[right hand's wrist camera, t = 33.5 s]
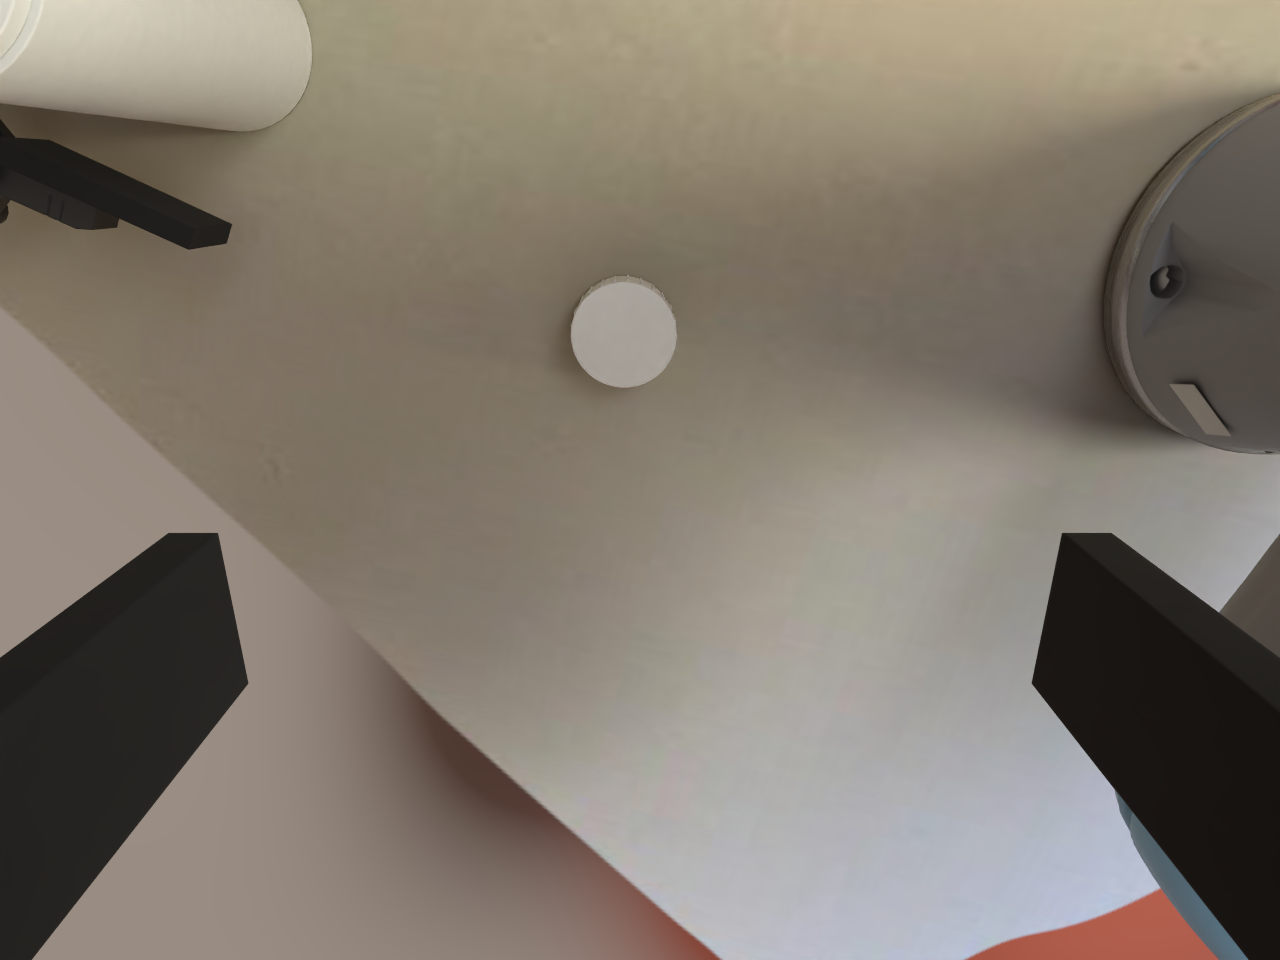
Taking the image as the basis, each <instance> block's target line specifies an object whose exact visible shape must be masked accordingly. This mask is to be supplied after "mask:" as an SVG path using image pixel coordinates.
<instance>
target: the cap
mask: <svg viewBox="0 0 1280 960" xmlns="http://www.w3.org/2000/svg"><path fill="white" fill-rule="evenodd" d="M671 310H672V308H671V305H670V302H669V303H668V302H667V300H666V298H665V297H664V294H663V292H660V291H659V290H658V289H657V288H656V287H654V285H653V283H652V284H650V283H648V282H647V281H645V280H642V278H641V277H640V279H639V278H636V277H632V276H629V275H627V276H616V275H614V277H611V278H608V279H605V280H603V279H602V280H601V282H599V283H597V284H596V285H594V286H591V287H590V290H589V291H588V292H587V293H586V294H585V295H584V296H582V297H581V300H580V303H579V305H578V307H576V309H575V311H574V318H573V320H572V323H571V326H570V328H571V339H570V340H571V343H572V348H573V351H574V354H575V356H576V358H577V360H578V362H579V364H580V365H581V366H582V368H583V369H584V370H585V371H586V372H587V373H588V374H589V375H590V376H591V377H593V378H594V379H596V380H597V381H599V382H601V383H603V384H606V385H609V386H613V387H620V388H628V387H635V386H639V385H642V384H645V383H647V382H649V381H651V380H652V379H654V378H655V377H656V376H658V375H659V374H660V373H661V372H662V371H663V370H664V369H665V368H666V366H667V365H668V363H669V362H670V360H671V358H672V356H673V353H674V350H675V348H676V347H675V346H676V339H677V336H678V334H677V330H676V324H675V323H677V322H676V319H675V316H674V315H673V314H672V311H671Z"/></svg>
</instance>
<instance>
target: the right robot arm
mask: <svg viewBox="0 0 1280 960" xmlns="http://www.w3.org/2000/svg"><path fill="white" fill-rule="evenodd" d="M1104 330H1105V338H1106V344H1107V348H1108V352H1109V356H1110V359H1111V362H1112V364H1113V367H1114V370H1115V372H1116V374H1117V376H1118V378H1119V380H1120V382H1121V384H1122V385H1123V387H1124V388H1125V390H1126V391H1127V393H1128V394H1129V396H1130V397H1131V398H1132V399H1133V400H1134V401H1135V403H1136V404H1137V405H1138V406H1139V407H1140V408H1141V409H1142V410H1144V411H1145V412H1146V413H1147V414H1148V415H1149V416H1151V417H1152V418H1153V419H1155V420H1156V421H1158V422H1159V423H1161V424H1162V425H1164V426H1166V427H1168V428H1170V429H1172V430H1174V431H1176V432H1178V433H1180V434H1182V435H1185V436H1187V437H1189V438H1191V439H1193V440H1195V441H1198V442H1200V443H1203V444H1205V445H1208V446H1211V447H1215V448H1218V449H1222V450H1227V451H1233V452H1239V453H1250V454H1280V93H1278V94H1275V95H1272V96H1269V97H1266V98H1264V99H1261V100H1258V101H1256V102H1254V103H1252V104H1249V105H1247V106H1245V107H1243V108H1241V109H1239V110H1237V111H1235V112H1234V113H1232V114H1230V115H1228V116H1226V117H1225V118H1223V119H1222V120H1220V121H1219V122H1217V123H1216V124H1214V125H1213V126H1211V127H1210V128H1208V129H1207V130H1205V131H1204V132H1203V133H1202V134H1200V135H1199V136H1198V137H1196V138H1195V139H1194V140H1193V141H1191V142H1190V143H1189V144H1188V145H1187V146H1186V147H1185V148H1184V149H1183V150H1181V151H1180V152H1179V153H1178V154H1177V155H1176V156H1175V157H1174V158H1173V159H1172V160H1171V161H1170V162H1169V163H1168V165H1167V166H1166V167H1165V168H1164V169H1163V170H1162V171H1161V172H1160V173H1159V175H1158V176H1157V177H1156V179H1155V180H1154V181H1153V182H1152V184H1151V185H1150V186H1149V187H1148V189H1147V190H1146V192H1145V193H1144V195H1143V196H1142V198H1141V199H1140V201H1139V202H1138V204H1137V205H1136V207H1135V209H1134V211H1133V212H1132V214H1131V216H1130V218H1129V219H1128V221H1127V223H1126V225H1125V228H1124V230H1123V232H1122V234H1121V236H1120V238H1119V241H1118V244H1117V246H1116V249H1115V252H1114V255H1113V257H1112V261H1111V265H1110V269H1109V272H1108V277H1107V283H1106V288H1105V296H1104ZM247 685H248V680H247V674H246V669H245V665H244V660H243V655H242V650H241V645H240V640H239V635H238V630H237V625H236V620H235V615H234V610H233V605H232V600H231V595H230V591H229V586H228V581H227V576H226V571H225V566H224V561H223V556H222V551H221V546H220V541H219V536H218V533H168V534H167V535H165V536H164V537H163V538H161V539H160V540H159V541H157V542H156V543H155V544H153V545H152V546H150V547H149V548H148V549H146V550H145V551H144V552H142V553H141V554H140V555H138V556H137V557H136V558H134V559H133V560H132V561H130V562H129V563H127V564H126V565H125V566H123V567H122V568H121V569H119V570H118V571H117V572H115V573H114V574H113V575H111V576H110V577H109V578H107V579H106V580H105V581H103V582H102V583H101V584H99V585H98V586H97V587H95V588H94V589H92V590H91V591H90V592H88V593H87V594H86V595H84V596H83V597H82V598H80V599H79V600H78V601H76V602H75V603H74V604H72V605H71V606H69V607H68V608H67V609H65V610H64V611H63V612H61V613H60V614H59V615H57V616H56V617H55V618H53V619H52V620H51V621H49V622H48V623H46V624H45V625H44V626H42V627H41V628H40V629H38V630H37V631H36V632H34V633H33V634H32V635H30V636H29V637H28V638H26V639H25V640H24V641H22V642H21V643H20V644H18V645H17V646H15V647H14V648H13V649H11V650H10V651H9V652H7V653H6V654H5V655H3V656H2V657H1V658H0V960H32V959H33V957H34V956H35V955H36V953H37V952H38V951H39V950H40V948H41V947H42V946H43V945H44V943H45V942H46V941H47V939H48V938H49V937H50V936H51V934H52V933H53V932H54V931H55V929H56V928H57V927H58V925H59V924H60V923H61V922H62V920H63V919H64V918H65V917H66V915H67V914H68V913H69V911H70V910H71V909H72V908H73V906H74V905H75V904H76V902H77V901H78V900H79V899H80V897H81V896H82V895H83V893H84V892H85V891H86V890H87V888H88V887H89V886H90V885H91V883H92V882H93V881H94V879H95V878H96V877H97V876H98V874H99V873H100V872H101V871H102V869H103V868H104V867H105V865H106V864H107V863H108V862H109V860H110V859H111V858H112V857H113V855H114V854H115V853H116V852H117V850H118V849H119V848H120V846H121V845H122V844H123V843H124V841H125V840H126V839H127V838H128V836H129V835H130V834H131V832H132V831H133V830H134V829H135V827H136V826H137V825H138V823H139V822H140V821H141V820H142V818H143V817H144V816H145V815H146V813H147V812H148V811H149V809H150V808H151V807H152V806H153V804H154V803H155V802H156V801H157V799H158V798H159V797H160V795H161V794H162V793H163V792H164V790H165V789H166V788H167V786H168V785H169V784H170V783H171V781H172V780H173V779H174V778H175V776H176V775H177V774H178V772H179V771H180V770H181V769H182V767H183V766H184V765H185V764H186V762H187V761H188V760H189V758H190V757H191V756H192V755H193V753H194V752H195V751H196V750H197V748H198V747H199V746H200V744H201V743H202V742H203V741H204V739H205V738H206V737H207V736H208V734H209V733H210V732H211V730H212V729H213V728H214V727H215V725H216V724H217V723H218V721H219V720H220V719H221V718H222V716H223V715H224V714H225V713H226V711H227V710H228V709H229V707H230V706H231V705H232V704H233V702H234V701H235V700H236V698H237V697H238V696H239V695H240V693H241V692H242V691H243V690H244V688H245V687H246V686H247ZM1032 685H1033V686H1034V687H1035V688H1036V690H1037V691H1038V692H1039V693H1040V695H1041V696H1042V697H1043V699H1044V700H1045V701H1046V702H1047V704H1048V705H1049V706H1050V707H1051V709H1052V710H1053V711H1054V713H1055V714H1056V715H1057V716H1058V718H1059V719H1060V720H1061V721H1062V723H1063V724H1064V725H1065V727H1066V728H1067V729H1068V730H1069V732H1070V733H1071V734H1072V736H1073V737H1074V738H1075V739H1076V741H1077V742H1078V743H1079V744H1080V746H1081V747H1082V748H1083V750H1084V751H1085V752H1086V753H1087V755H1088V756H1089V757H1090V758H1091V760H1092V761H1093V762H1094V764H1095V765H1096V766H1097V767H1098V769H1099V770H1100V771H1101V772H1102V774H1103V775H1104V776H1105V778H1106V779H1107V780H1108V781H1109V783H1110V784H1111V785H1112V787H1113V788H1114V789H1115V793H1116V798H1117V801H1118V804H1119V808H1120V813H1121V815H1122V817H1123V819H1124V821H1125V823H1126V825H1127V826H1128V828H1129V830H1130V833H1131V837H1132V839H1133V843H1134V845H1135V847H1136V849H1137V851H1138V853H1139V854H1140V856H1141V858H1142V859H1143V861H1144V863H1145V864H1146V866H1147V867H1148V869H1149V871H1150V872H1151V874H1152V876H1153V877H1154V879H1155V880H1156V882H1157V883H1158V885H1159V886H1160V888H1161V889H1162V890H1163V892H1164V893H1165V895H1166V896H1167V897H1168V899H1169V900H1170V901H1171V903H1172V904H1173V905H1174V907H1175V908H1176V909H1177V911H1178V912H1179V913H1180V914H1181V916H1182V917H1183V918H1184V920H1185V921H1186V922H1187V923H1188V925H1189V926H1190V927H1191V928H1192V929H1193V931H1194V932H1195V933H1196V934H1197V935H1198V937H1199V938H1200V939H1201V940H1202V941H1203V942H1204V944H1205V945H1206V946H1207V947H1208V948H1209V949H1210V950H1211V952H1212V953H1213V954H1214V955H1215V956H1216V957H1217V958H1218V959H1219V960H1280V534H1279V535H1278V537H1277V538H1276V539H1275V541H1274V542H1273V543H1272V545H1271V546H1270V547H1269V549H1268V550H1267V551H1266V553H1265V554H1264V555H1263V557H1262V558H1261V559H1260V561H1259V562H1258V563H1257V565H1256V566H1255V567H1254V569H1253V570H1252V571H1251V573H1250V574H1249V575H1248V577H1247V578H1246V579H1245V580H1244V582H1243V583H1242V584H1241V586H1240V587H1239V588H1238V589H1237V591H1236V592H1235V593H1234V594H1233V596H1232V597H1231V598H1230V599H1229V601H1228V602H1227V603H1226V605H1225V606H1224V607H1223V608H1222V610H1221V611H1220V612H1217V611H1216V610H1215V609H1213V608H1212V607H1211V606H1209V605H1208V604H1207V603H1205V602H1204V601H1202V600H1201V599H1200V598H1198V597H1197V596H1196V595H1194V594H1193V593H1192V592H1190V591H1189V590H1188V589H1186V588H1185V587H1184V586H1182V585H1181V584H1180V583H1178V582H1177V581H1175V580H1174V579H1173V578H1171V577H1170V576H1169V575H1167V574H1166V573H1165V572H1163V571H1162V570H1161V569H1159V568H1158V567H1157V566H1155V565H1154V564H1152V563H1151V562H1150V561H1148V560H1147V559H1146V558H1144V557H1143V556H1142V555H1140V554H1139V553H1138V552H1136V551H1135V550H1134V549H1132V548H1131V547H1130V546H1128V545H1127V544H1125V543H1124V542H1123V541H1121V540H1120V539H1119V538H1117V537H1116V536H1115V535H1113V534H1112V533H1062V536H1061V541H1060V546H1059V551H1058V556H1057V561H1056V566H1055V571H1054V576H1053V581H1052V585H1051V590H1050V595H1049V600H1048V605H1047V610H1046V615H1045V620H1044V625H1043V630H1042V635H1041V640H1040V645H1039V650H1038V655H1037V660H1036V664H1035V669H1034V674H1033V679H1032Z"/></svg>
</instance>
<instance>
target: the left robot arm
mask: <svg viewBox="0 0 1280 960" xmlns="http://www.w3.org/2000/svg"><path fill="white" fill-rule="evenodd" d="M10 200H13V201H15V202H17V203H19V204H22V205H24V206H26V207H28V208H31V209H33V210H35V211H37V212H40V213H42V214H44V215H47V216H48V217H51V218H53V219H55V220H58V221H60V222H62V223H64V224H66V225H69V226H71V227H73V228H75V229H87V230H96V229H106V228H116V227H117V225H118V221H119V218H120V219H122V220H124V221H126V222H128V223H131V224H133V225H135V226H137V227H140V228H142V229H144V230H146V231H148V232H151V233H153V234H155V235H157V236H160V237H162V238H164V239H166V240H168V241H171V242H173V243H175V244H177V245H179V246H182V247H184V248H186V249H188V250H189V249H195V248H202V247H208V246H214V245H220V244H226V243H227V240H228V236H229V233H230V230H231V226H232V224H231V223H228V222H226V221H224V220H222V219H220V218H218V217H215V216H213V215H211V214H209V213H207V212H205V211H202V210H200V209H198V208H196V207H194V206H192V205H189V204H187V203H185V202H183V201H181V200H179V199H176V198H174V197H172V196H170V195H168V194H165V193H163V192H161V191H159V190H157V189H155V188H152V187H150V186H148V185H146V184H144V183H142V182H139V181H137V180H135V179H133V178H131V177H129V176H126V175H124V174H122V173H120V172H118V171H116V170H113V169H111V168H109V167H107V166H105V165H103V164H100V163H98V162H96V161H94V160H92V159H90V158H87V157H85V156H83V155H81V154H79V153H77V152H74V151H72V150H70V149H68V148H66V147H63V146H61V145H59V144H57V143H55V142H53V141H50V140H41V139H26V138H15V137H14V135H13V134H12V133H11V132H10V130H9V129H8V128H7V127H6V126H5V124H4V123H3V122H2V121H1V119H0V223H3V222H4V221H5V220H6V219H7V216H8V206H7V204H8V202H9V201H10Z"/></svg>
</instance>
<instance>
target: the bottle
mask: <svg viewBox="0 0 1280 960" xmlns="http://www.w3.org/2000/svg"><path fill="white" fill-rule="evenodd" d="M311 65H312V44H311V37H310V31H309V28H308V24H307V21H306V18H305V15H304V13H303V10H302V8H301V6H300V4H299V2H298V0H0V103H2V104H10V105H19V106H27V107H35V108H44V109H52V110H60V111H69V112H77V113H85V114H94V115H102V116H111V117H119V118H127V119H136V120H144V121H152V122H161V123H169V124H177V125H186V126H194V127H203V128H211V129H219V130H228V131H238V132H246V131H255V130H260V129H263V128H266V127H269V126H271V125H273V124H275V123H277V122H279V121H280V120H281V119H283V118H284V117H285V116H287V115H288V114H289V113H290V112H291V111H292V110H293V109H294V107H295V106H296V105H297V103H298V102H299V100H300V99H301V97H302V95H303V93H304V91H305V89H306V86H307V83H308V80H309V76H310V71H311Z"/></svg>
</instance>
